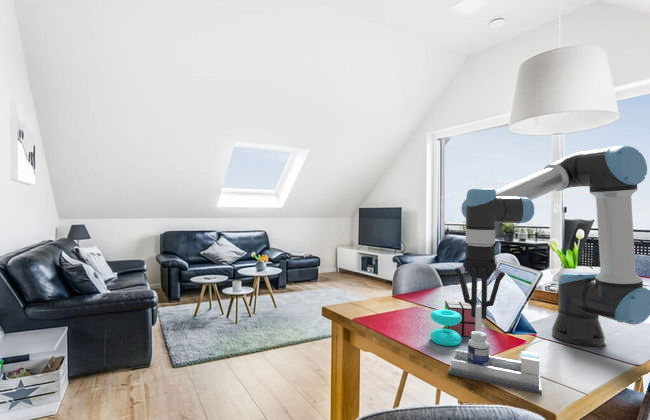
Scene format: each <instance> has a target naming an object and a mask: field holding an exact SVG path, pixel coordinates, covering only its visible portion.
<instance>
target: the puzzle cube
mask: <svg viewBox="0 0 650 420" xmlns="http://www.w3.org/2000/svg"><path fill="white" fill-rule="evenodd" d="M444 303H445V305H444V306H445V307H444V309H447V310H452V311H456V312H458V313H459V314H460V315H461V317H462V320H461V322H460V323H459V324H457V325H452V326H447V325H444V327H445V328H444V329H450V330H453V331H456V332H457V333H458V334H459V335H460V336H461V337H470V338H471V332H472V331H475V318H474V317H472V316H471V305H470V304H468V303H465V301H457V300H456V301H455V300H445V302H444Z"/></svg>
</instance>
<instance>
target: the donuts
mask: <svg viewBox="0 0 650 420" xmlns="http://www.w3.org/2000/svg"><path fill="white" fill-rule="evenodd" d="M430 318H431V321H433V322H434V323H436V324H438V325H441V326H445V325H447V326H452V325H457V324H459V323H460V322H461V320H462V317H461V315H460V314H459V313H458V312H456V311H452V310H447V309H445V308H444V309H443V308H441V309H435V310H432V312H431V313H430ZM429 336H430V340H431V341H432V342H434V343H435V344H438V345H440V346H443V347H444V346H445V347H452V346H453V347H456V346H458V345H460V344H461V342H462V336H460V335H459V334H458V333H457V332H456V331H453V330H450V329H446V328H435V329H434V330H432V331H431V332H430V335H429Z"/></svg>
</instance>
